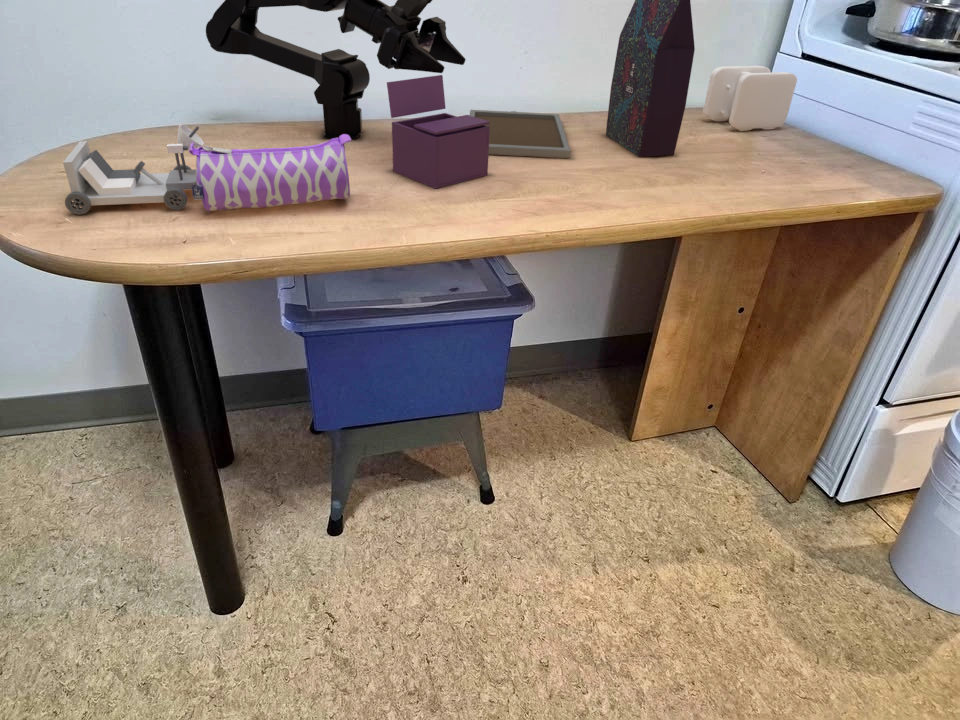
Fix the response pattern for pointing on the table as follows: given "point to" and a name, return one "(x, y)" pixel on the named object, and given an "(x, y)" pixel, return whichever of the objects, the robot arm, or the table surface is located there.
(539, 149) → the grey rectangular tray
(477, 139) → the box
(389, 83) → the flap
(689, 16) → the decorative box
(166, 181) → the toy car
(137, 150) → the table surface
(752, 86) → the cable organizer
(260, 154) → the pencil case
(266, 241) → the table surface
